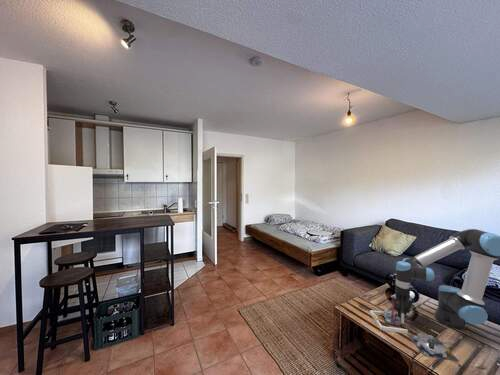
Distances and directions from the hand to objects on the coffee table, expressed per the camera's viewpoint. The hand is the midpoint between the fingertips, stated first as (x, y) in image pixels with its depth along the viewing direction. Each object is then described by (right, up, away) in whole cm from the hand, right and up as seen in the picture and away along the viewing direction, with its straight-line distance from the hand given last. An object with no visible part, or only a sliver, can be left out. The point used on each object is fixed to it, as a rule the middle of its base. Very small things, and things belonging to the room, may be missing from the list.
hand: (401, 322), depth 131 cm
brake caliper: (-5, -2, +3) cm, 6 cm away
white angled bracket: (-7, -2, +1) cm, 8 cm away
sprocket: (+3, -2, -18) cm, 18 cm away
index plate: (+3, -2, -18) cm, 18 cm away
